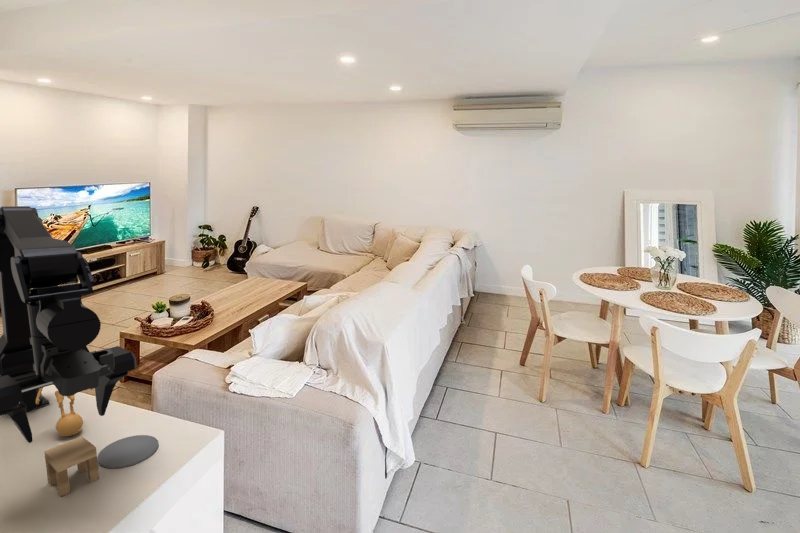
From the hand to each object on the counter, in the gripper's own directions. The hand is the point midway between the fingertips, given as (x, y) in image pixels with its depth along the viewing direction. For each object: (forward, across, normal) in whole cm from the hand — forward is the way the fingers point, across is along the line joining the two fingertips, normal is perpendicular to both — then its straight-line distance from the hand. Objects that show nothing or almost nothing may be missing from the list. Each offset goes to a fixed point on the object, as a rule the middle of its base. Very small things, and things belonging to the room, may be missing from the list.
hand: (67, 427), depth 65 cm
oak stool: (+9, 0, 0) cm, 9 cm away
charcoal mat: (+9, +8, +1) cm, 12 cm away
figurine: (+9, +5, +16) cm, 19 cm away
